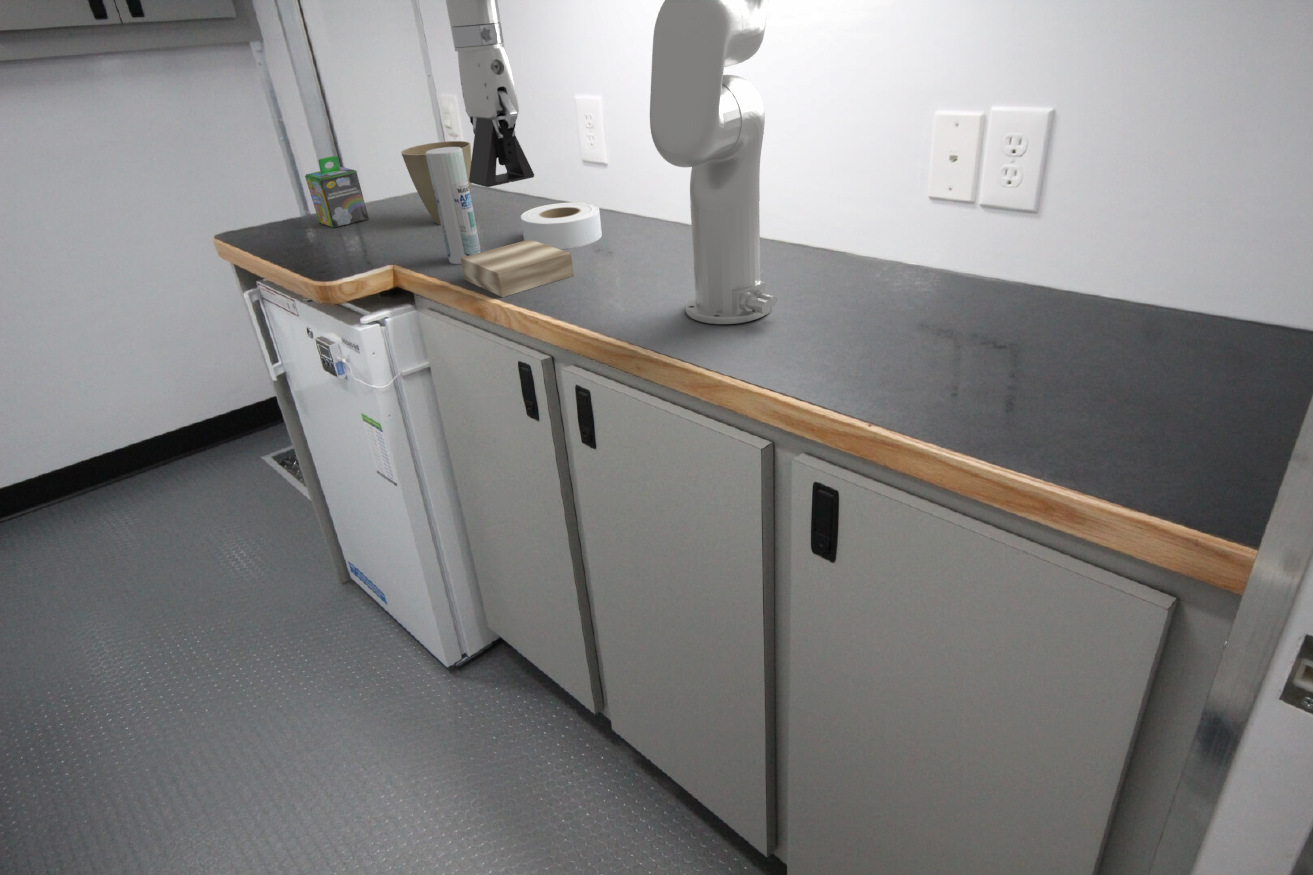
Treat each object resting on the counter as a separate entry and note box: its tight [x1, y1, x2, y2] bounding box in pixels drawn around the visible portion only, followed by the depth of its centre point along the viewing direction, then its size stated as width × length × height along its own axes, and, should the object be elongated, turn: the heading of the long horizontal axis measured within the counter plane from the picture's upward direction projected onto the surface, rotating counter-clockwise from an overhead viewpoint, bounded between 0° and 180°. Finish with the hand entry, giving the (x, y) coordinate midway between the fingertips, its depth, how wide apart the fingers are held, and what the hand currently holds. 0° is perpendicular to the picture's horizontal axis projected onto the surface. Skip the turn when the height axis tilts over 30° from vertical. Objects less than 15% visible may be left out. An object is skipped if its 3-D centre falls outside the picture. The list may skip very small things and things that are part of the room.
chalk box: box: [304, 155, 369, 229], centre depth 184 cm, size 9×9×15 cm
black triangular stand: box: [469, 113, 535, 188], centre depth 128 cm, size 9×6×12 cm, turn 127°
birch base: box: [461, 239, 575, 298], centre depth 138 cm, size 14×14×4 cm
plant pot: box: [400, 140, 472, 225], centre depth 176 cm, size 15×15×16 cm
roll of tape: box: [520, 201, 603, 250], centre depth 158 cm, size 16×16×6 cm
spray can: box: [425, 147, 482, 265], centre depth 147 cm, size 6×6×20 cm
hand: (498, 160), depth 129 cm, fingers closed on black triangular stand, 6 cm apart
